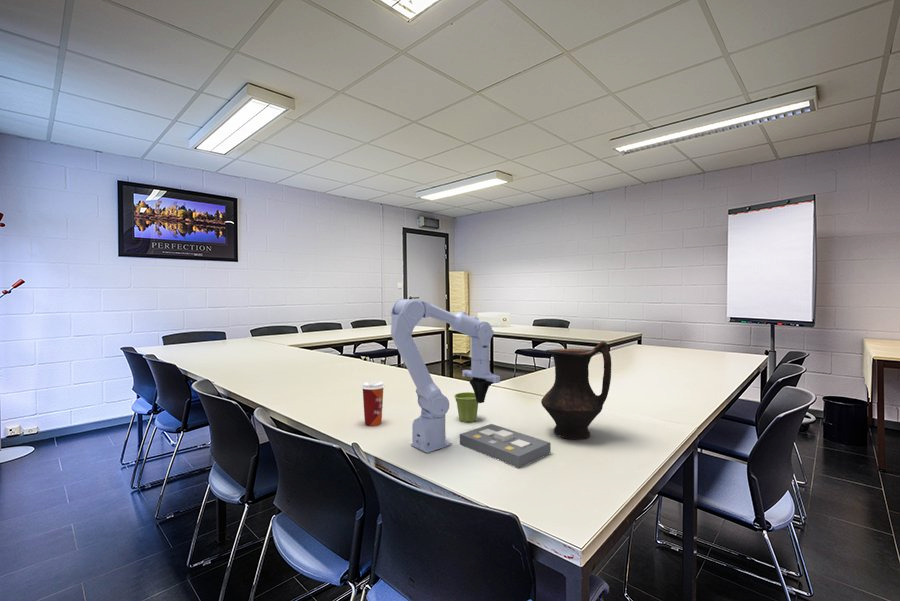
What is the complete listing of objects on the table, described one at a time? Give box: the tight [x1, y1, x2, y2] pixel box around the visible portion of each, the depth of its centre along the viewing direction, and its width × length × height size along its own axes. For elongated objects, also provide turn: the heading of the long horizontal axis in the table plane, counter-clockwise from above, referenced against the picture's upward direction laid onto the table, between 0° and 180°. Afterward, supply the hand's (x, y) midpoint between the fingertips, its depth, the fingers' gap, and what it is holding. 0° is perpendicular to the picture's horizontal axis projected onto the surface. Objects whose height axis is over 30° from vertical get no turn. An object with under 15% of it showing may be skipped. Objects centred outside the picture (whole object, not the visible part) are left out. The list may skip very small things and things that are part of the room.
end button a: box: [479, 429, 496, 437], centre depth 117 cm, size 4×4×3 cm
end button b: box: [510, 439, 531, 449], centre depth 108 cm, size 4×4×3 cm
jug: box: [540, 340, 612, 440], centre depth 123 cm, size 21×18×30 cm
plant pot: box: [453, 391, 479, 423], centre depth 139 cm, size 9×9×9 cm
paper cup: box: [361, 380, 385, 427], centre depth 135 cm, size 8×8×14 cm
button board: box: [459, 423, 552, 469], centre depth 112 cm, size 14×22×3 cm, turn 42°
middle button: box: [494, 430, 514, 443], centre depth 112 cm, size 4×4×3 cm
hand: (480, 402), depth 123 cm, fingers closed
